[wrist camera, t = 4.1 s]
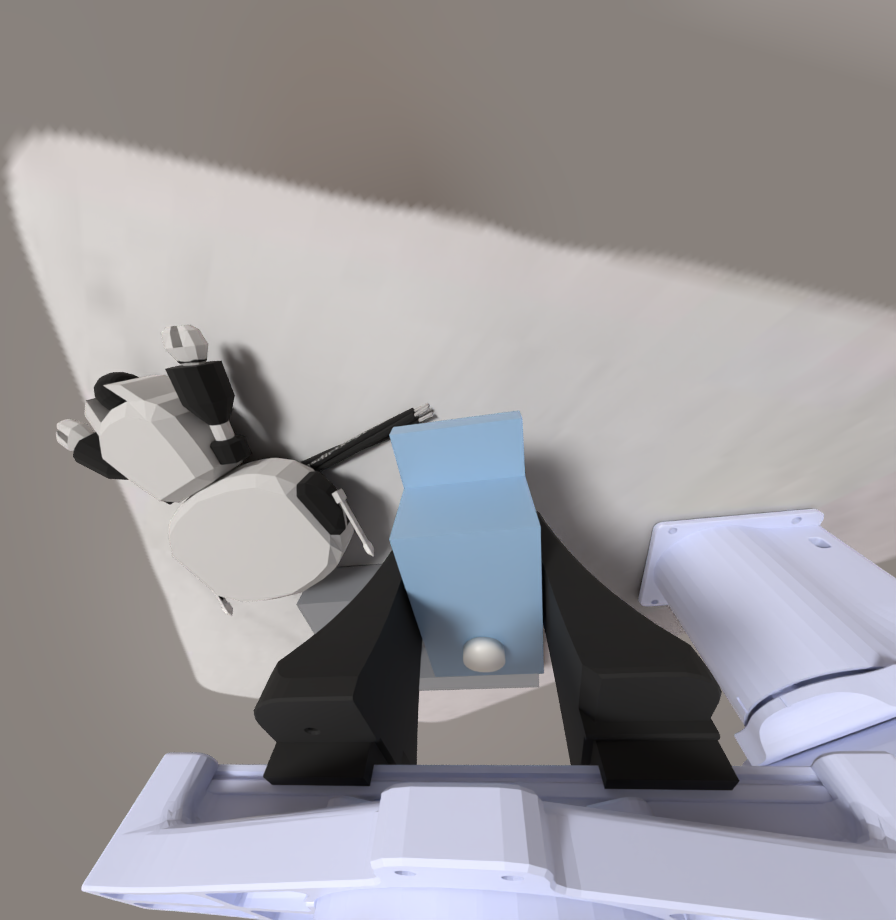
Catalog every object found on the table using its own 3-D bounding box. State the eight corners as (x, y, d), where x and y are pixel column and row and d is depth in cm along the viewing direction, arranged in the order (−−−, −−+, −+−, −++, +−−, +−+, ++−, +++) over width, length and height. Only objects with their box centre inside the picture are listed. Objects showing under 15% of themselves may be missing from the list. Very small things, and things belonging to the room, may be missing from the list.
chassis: (527, 552, 22) (535, 588, 20) (532, 649, 28) (539, 687, 25) (314, 569, 24) (296, 604, 21) (360, 656, 30) (350, 692, 27)
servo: (509, 386, 12) (542, 467, 7) (522, 583, 17) (546, 712, 12) (405, 401, 12) (363, 487, 7) (449, 588, 18) (443, 714, 12)
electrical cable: (427, 398, 17) (425, 404, 16) (435, 413, 18) (434, 420, 17) (263, 478, 20) (254, 487, 20) (274, 490, 21) (266, 498, 20)
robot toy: (99, 415, 19) (268, 577, 25) (0, 444, 15) (227, 630, 21) (232, 303, 16) (396, 519, 21) (148, 303, 12) (377, 570, 17)
